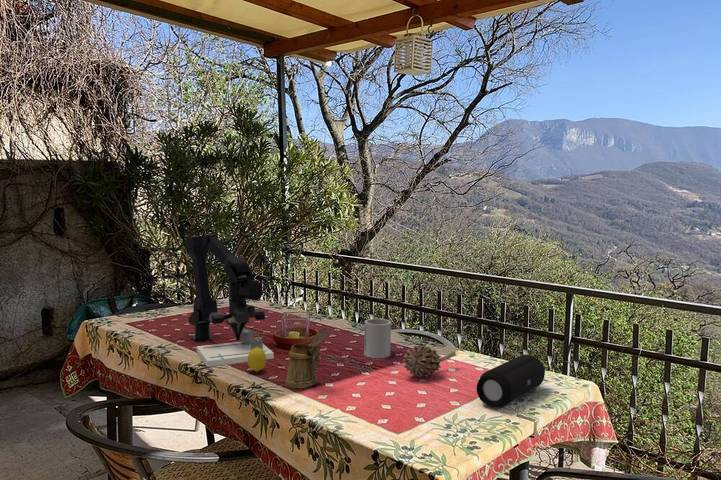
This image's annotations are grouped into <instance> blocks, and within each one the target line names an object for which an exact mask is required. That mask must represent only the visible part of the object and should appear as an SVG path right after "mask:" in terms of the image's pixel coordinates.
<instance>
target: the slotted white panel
mask: <svg viewBox="0 0 721 480" xmlns="http://www.w3.org/2000/svg"><path fill="white" fill-rule="evenodd" d="M250 351H251V343H249V344H243V343H242V342H241V341H235V342H227V343H226V342H225V343H217V344H216V343H214V344H206V345H200V346H199V345H198V346H196V354H197V355H198V356H199V358H200V359H201V360H202V362H203V363H204V365H205V366H206V368H211V367H218V366H220V367H221V366H225V365H226V366H228V365H234V364H235V365H236V364H241V363H248V355H249V352H250ZM263 351H264V353H265V356H266V361H267V360H273V359H274V358H275V355H274V354H275V353H274V352H273V351H272V350H271V349H270V348H269V347H267V346H266V345H265V344H264V343H263Z"/></svg>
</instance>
